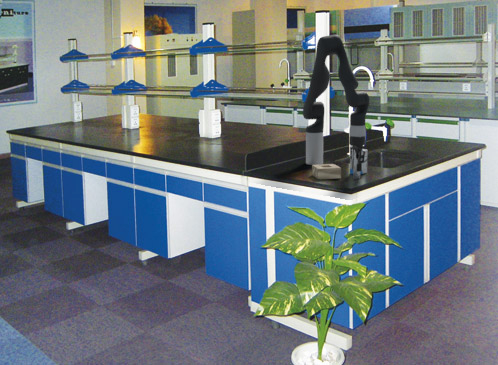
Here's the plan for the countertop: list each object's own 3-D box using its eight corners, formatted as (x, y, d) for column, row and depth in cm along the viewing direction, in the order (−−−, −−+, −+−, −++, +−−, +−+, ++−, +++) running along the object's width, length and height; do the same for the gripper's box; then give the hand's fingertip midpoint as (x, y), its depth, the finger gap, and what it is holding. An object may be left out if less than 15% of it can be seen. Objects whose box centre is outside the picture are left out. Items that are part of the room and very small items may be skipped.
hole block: (312, 175, 298) (312, 165, 297) (333, 173, 300) (333, 163, 299) (318, 179, 287) (318, 169, 286) (340, 178, 289) (341, 167, 288)
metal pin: (352, 177, 289) (352, 153, 287) (358, 177, 290) (359, 152, 287) (354, 179, 286) (355, 154, 284) (361, 178, 287) (361, 153, 284)
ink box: (357, 175, 295) (358, 145, 292) (349, 174, 298) (349, 144, 295) (367, 172, 301) (368, 143, 298) (359, 171, 304) (359, 142, 301)
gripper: (344, 133, 290) (344, 168, 293) (355, 137, 276) (354, 173, 280) (359, 132, 291) (358, 167, 295) (370, 136, 277) (370, 172, 281)
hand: (356, 170), depth 287 cm, fingers open, 5 cm apart
